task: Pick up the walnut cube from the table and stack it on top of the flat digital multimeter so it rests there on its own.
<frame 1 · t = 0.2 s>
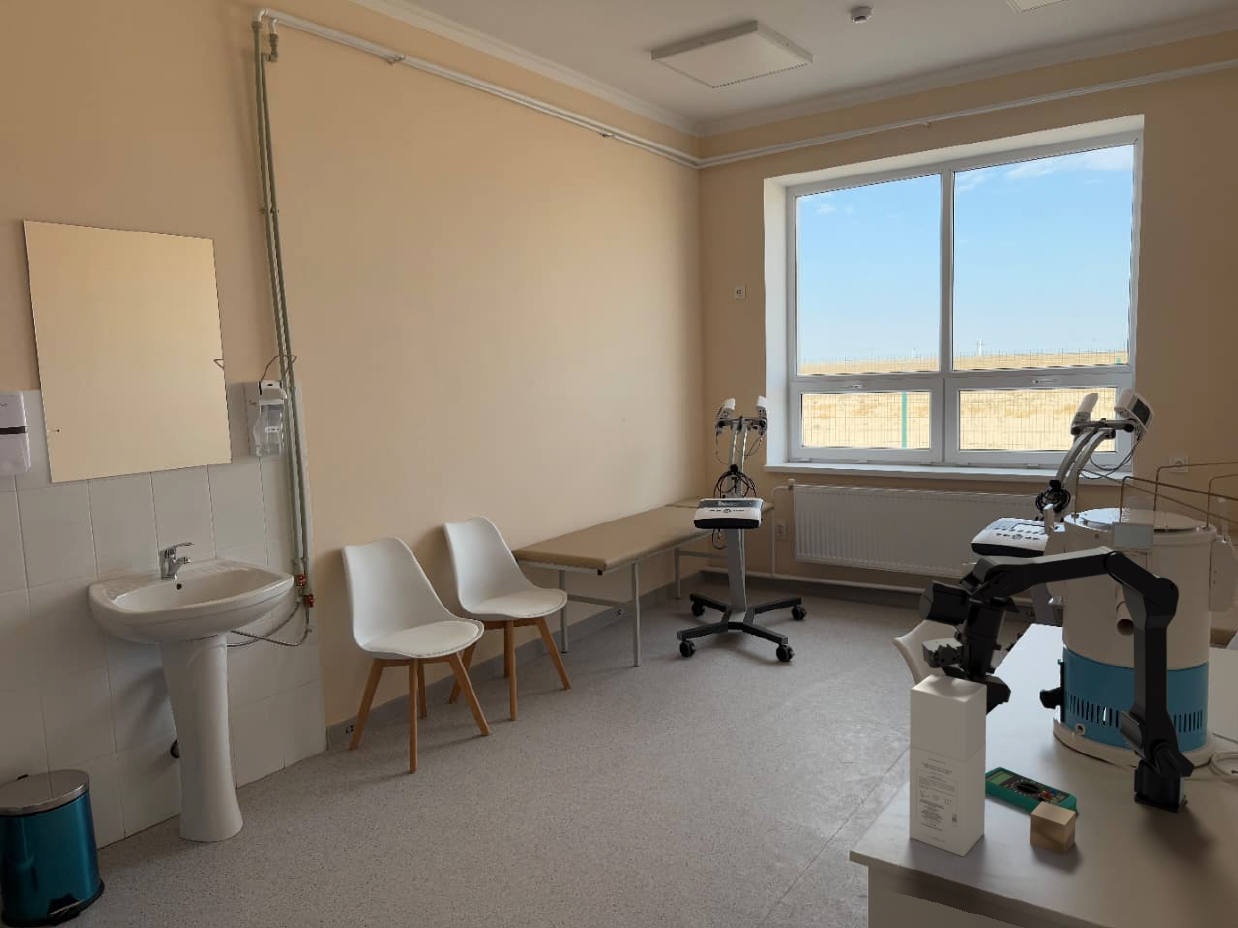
hand: (957, 717, 147), 15 cm above the table, tool pointing down, fingers open, 9 cm apart
tall white carton: (946, 836, 138), on the table
walnut cube: (1052, 842, 136), on the table
digital multimeter: (1025, 801, 149), on the table
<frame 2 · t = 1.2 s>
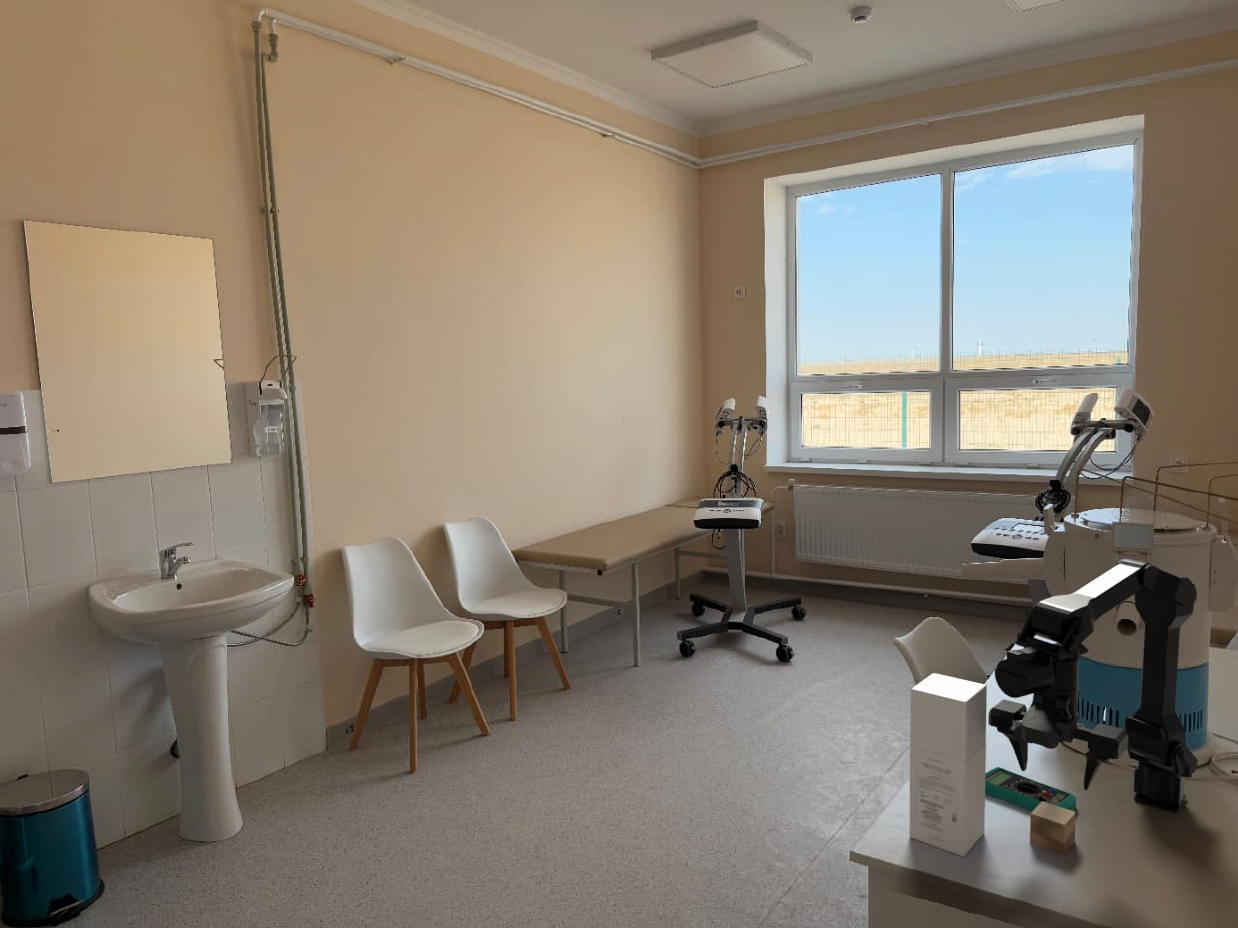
hand: (1054, 779, 134), 10 cm above the table, tool pointing down, fingers open, 9 cm apart
nothing on the table moved.
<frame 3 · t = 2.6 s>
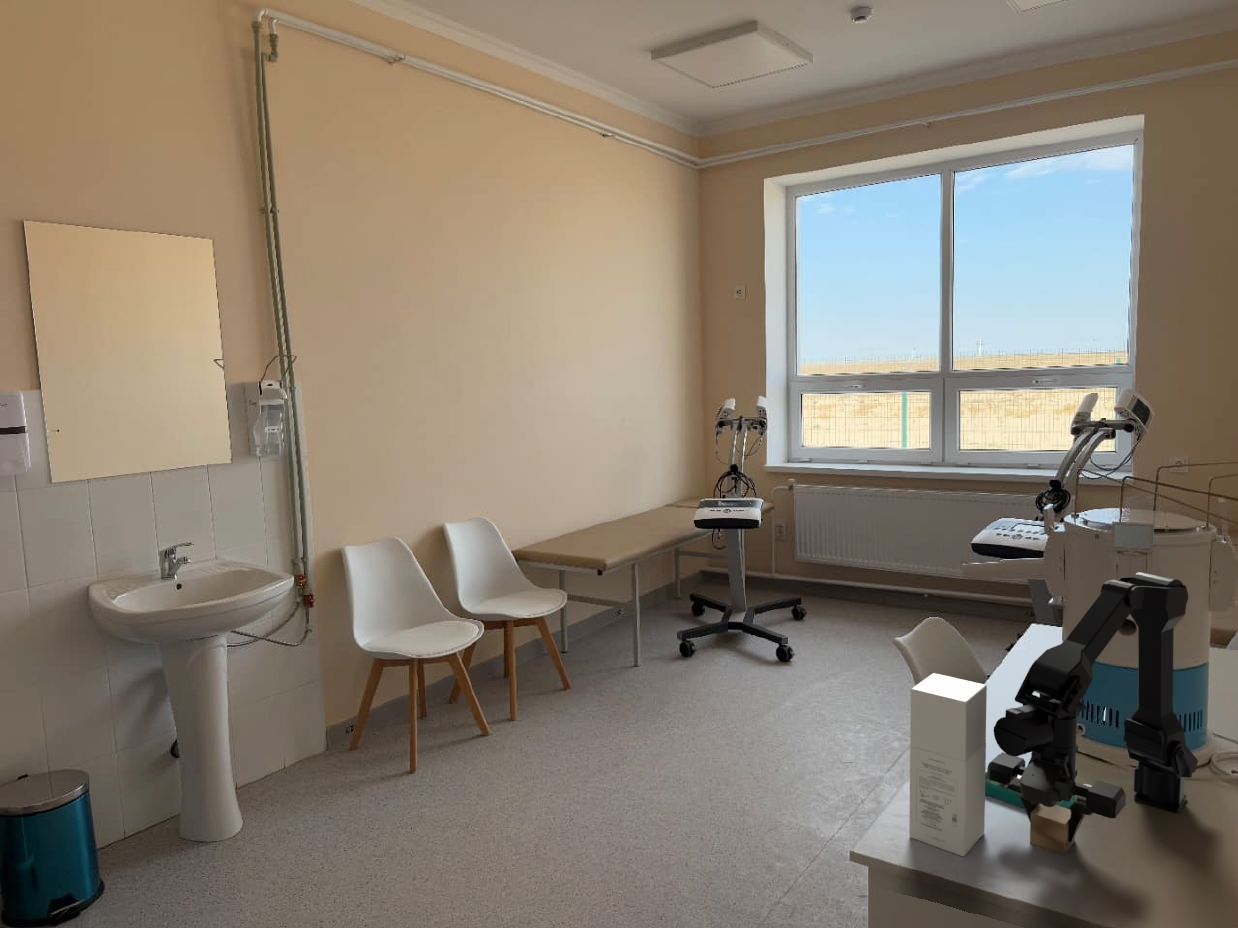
hand: (1052, 834, 135), 1 cm above the table, tool pointing down, fingers closed on walnut cube, 5 cm apart
walnut cube: (1052, 841, 136), on the table, touching gripper
everything else where it was.
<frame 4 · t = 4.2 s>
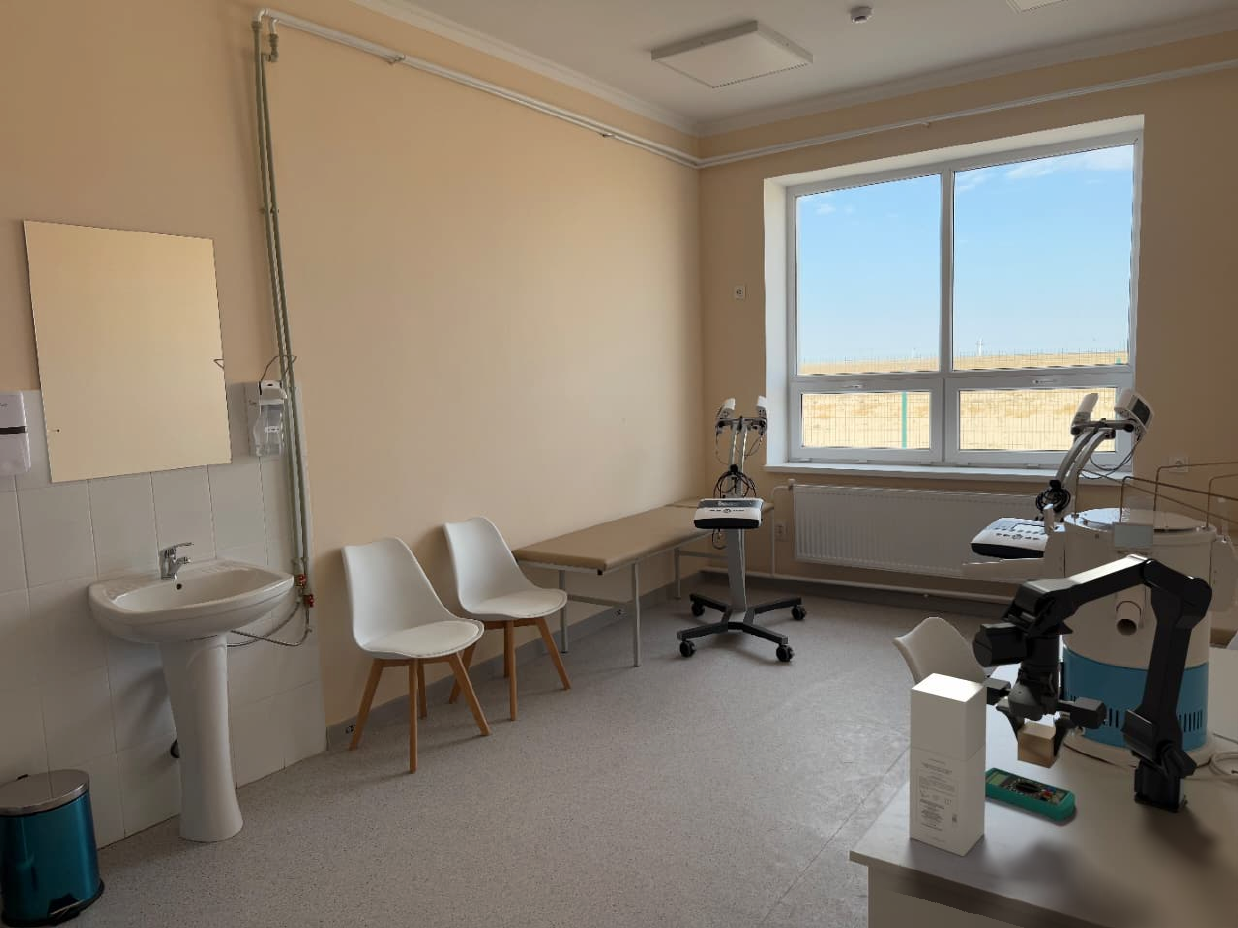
hand: (1038, 751, 142), 11 cm above the table, tool pointing down, fingers closed on walnut cube, 5 cm apart
walnut cube: (1038, 758, 142), point 10 cm above the table, touching gripper
everything else where it was.
when the fingers open (5 cm above the table, at t = 5.9 s): walnut cube drops 2 cm, resting on digital multimeter.
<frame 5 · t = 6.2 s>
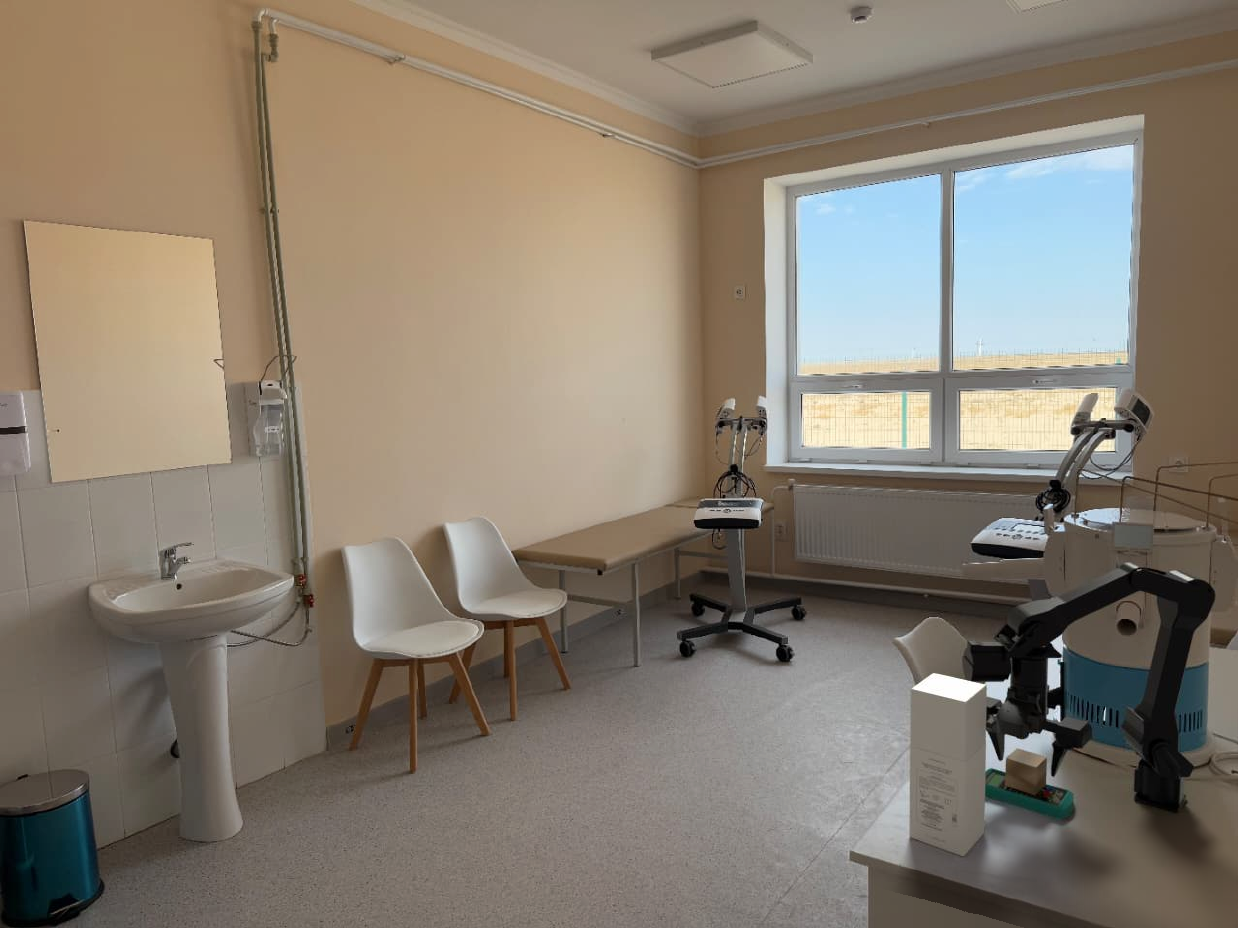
hand: (1026, 767, 148), 5 cm above the table, tool pointing down, fingers open, 8 cm apart
walnut cube: (1025, 784, 149), point 2 cm above the table, touching digital multimeter
digital multimeter: (1023, 801, 149), on the table, touching walnut cube
everything else where it was.
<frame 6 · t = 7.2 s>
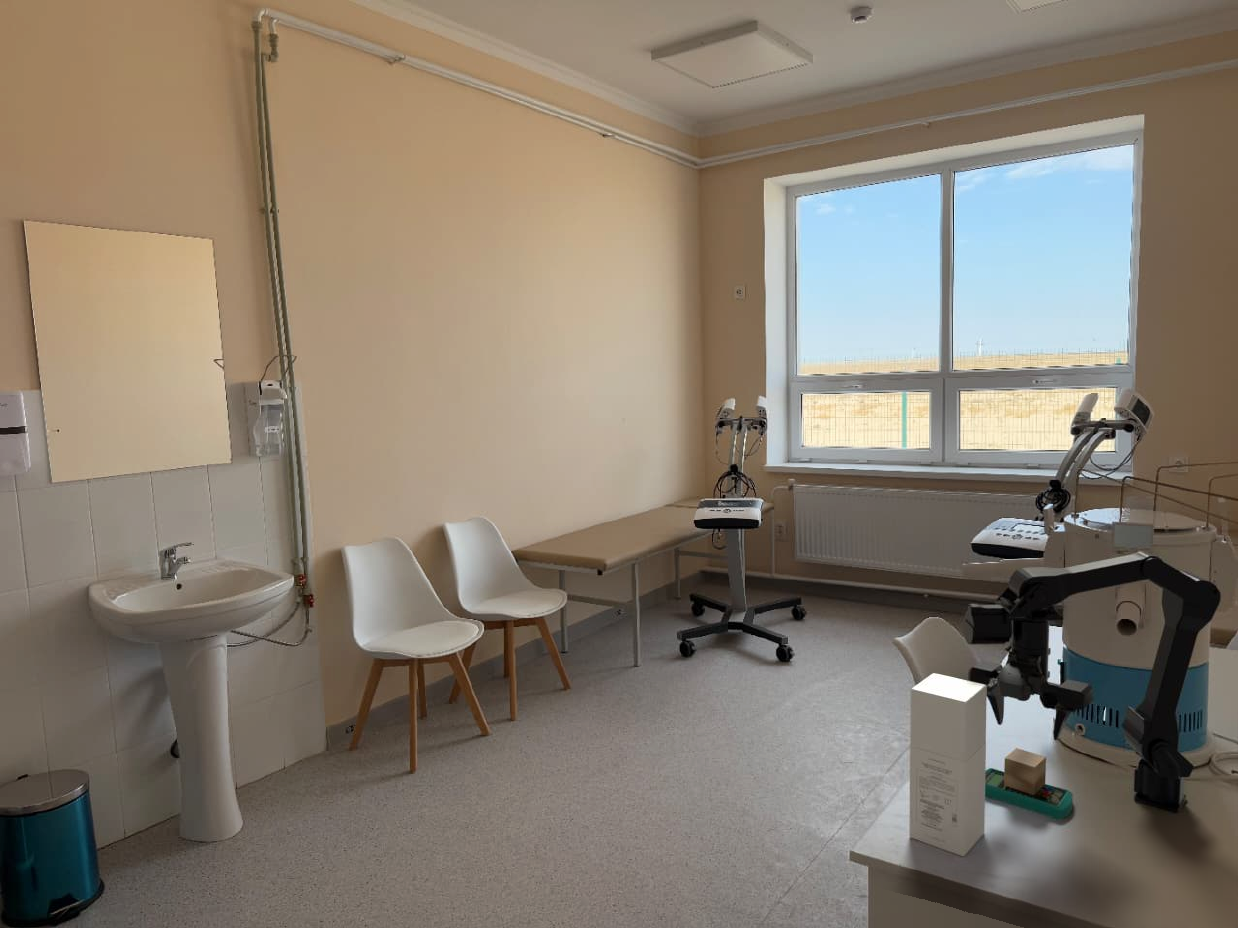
hand: (1027, 731, 148), 12 cm above the table, tool pointing down, fingers open, 9 cm apart
nothing on the table moved.
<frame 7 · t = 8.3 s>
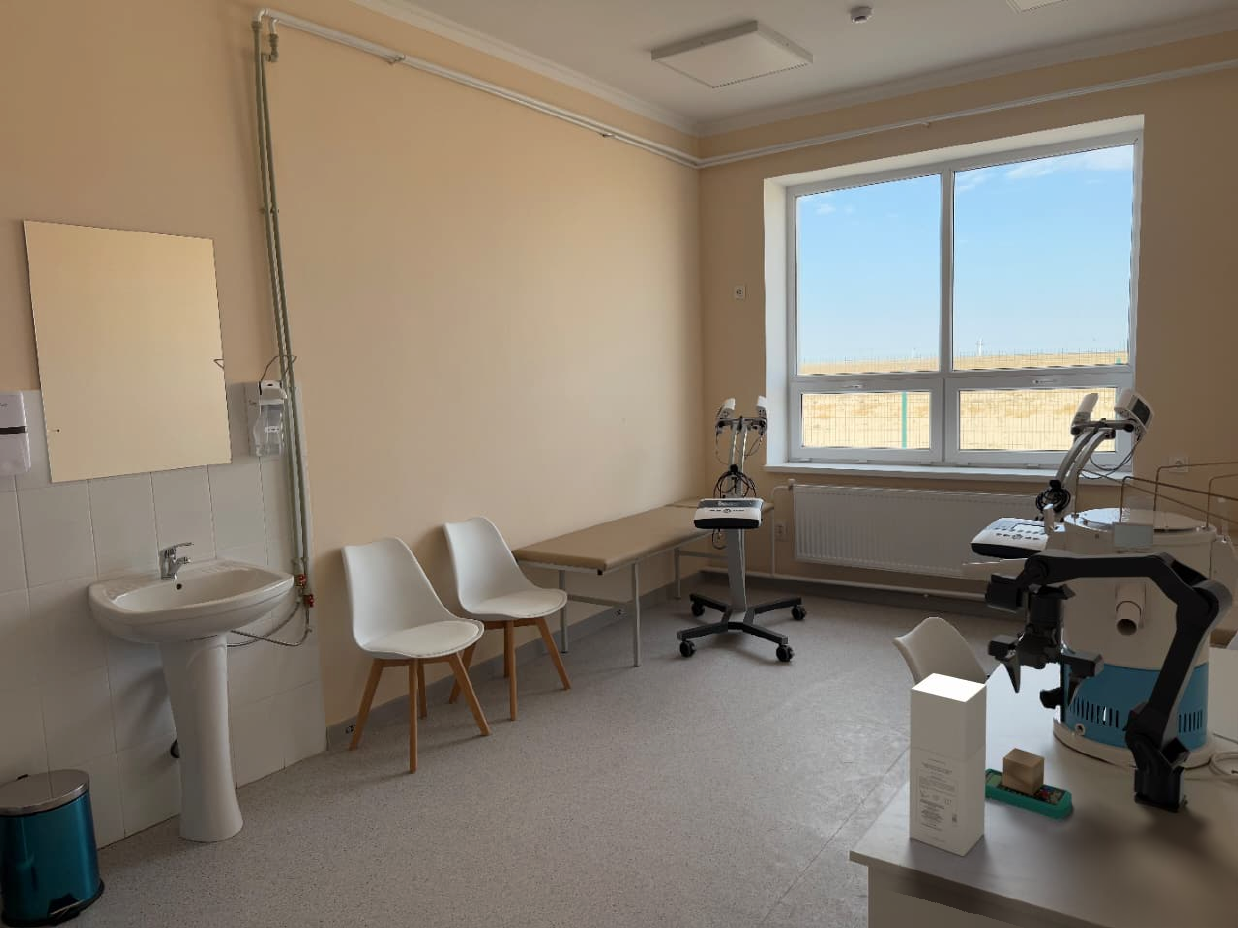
hand: (1042, 698, 161), 12 cm above the table, tool pointing down, fingers open, 9 cm apart
nothing on the table moved.
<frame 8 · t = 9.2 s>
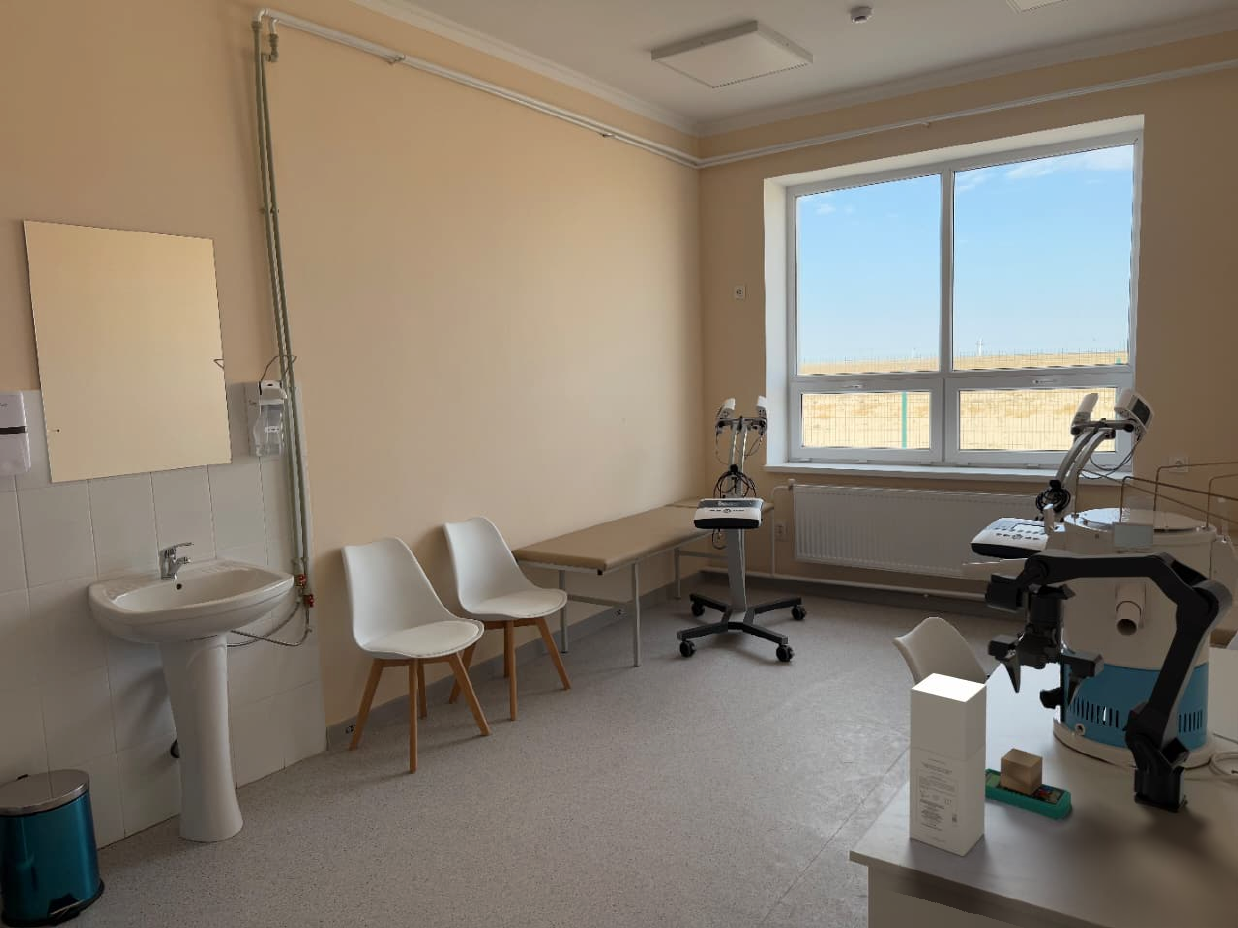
hand: (1042, 698, 161), 12 cm above the table, tool pointing down, fingers open, 9 cm apart
nothing on the table moved.
at the end: walnut cube inside the target area on the digital multimeter (0.1 cm from its centre), point 3.1 cm above the digital multimeter's base; walnut cube touching digital multimeter; the gripper is holding nothing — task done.
